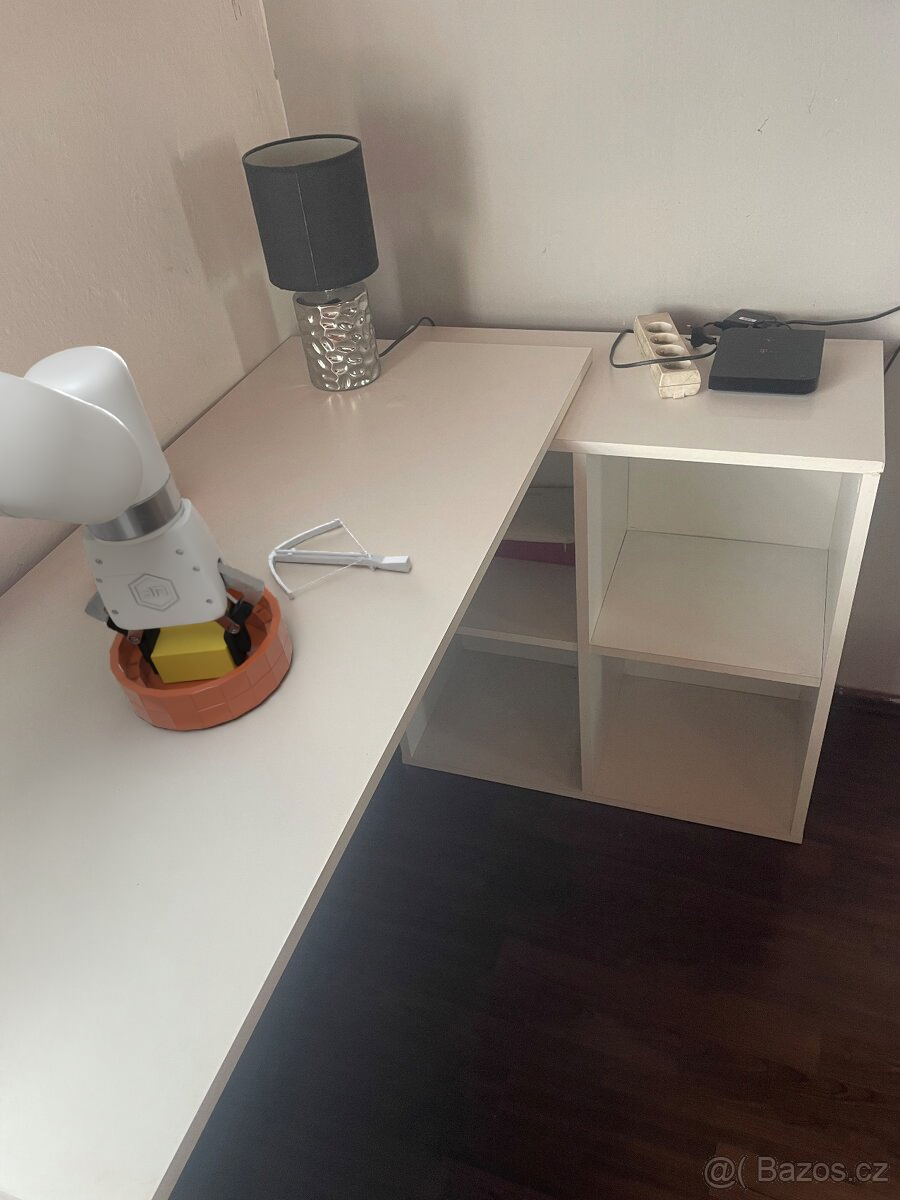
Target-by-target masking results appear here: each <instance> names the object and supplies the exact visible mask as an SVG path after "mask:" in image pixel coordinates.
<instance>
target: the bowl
mask: <svg viewBox="0 0 900 1200" xmlns="http://www.w3.org/2000/svg"><path fill="white" fill-rule="evenodd" d="M226 592H228V593H229V594H230V595H231V596H232V597H233V598H235V599H236V600H237V601H238V600H239V599H240V598H241V597H242V595H243V594H242V593H241V592H238V591H236V590H234V589H231V588H230V589H228V590H226ZM226 612H227V613H229V612H228V611H227V610H226ZM211 622H212V621H211ZM244 623H245V625H246V628H247V631H248V633H249V636H250V638H251V650H250V652H247V653H246V657H245V661H244V663H243V664H242V665H241V666H239V667H238V668H236V669H234V670H232V671H231V672H229V673H227V674H225V675H223V676H222V677H220V678H211V679H201V680H192V681H182V682H172V683H164V682H163V680H162V678H161V676H160V674H159V675H155V673H154V672H153V670H152V668H151V666H150V664H149V662H146V661H145V659H144V657H143V655H142V653H141V651H140V649H139V647H138V645H137V644H132V643H130V642H129V641H128V639H127V636H125V635H123V634H121V633H119V632H116V634H115V637H114V639H113V641H112V644H111V646H110V649H109V669H110V671H111V672H112V674H113V676H114V678H115V680H116V681H117V684H118V685H119V687H120V688H121V691H122V693H123V694H124V696H125V697H126V699H127V701H128V703H129V705H130V706H131V708H132V710H134V711H133V712H134V713H135V715H136V716H137V717H139V718H141V719H142V720H144V721H145V722H147V723H149V724H151V725H153V726H154V727H157V728H163V729H168V730H173V731H191V730H201V729H208V728H210V727H214V726H217V725H220V724H223V723H225V722H229V721H232V720H234V719H237V718H238V717H240V716H242V715H244V714H246V713H247V712H248V711H251V709H254V708H255V707H257V706H258V705H260V704H261V703H262V702H263V701H264V700H265V699H266V698H267V697H269V696H270V695H271V694H272V693H273V692H274V691H275V690H276V688H278V686H279V685H280V683H281V682H282V680H283V678H284V677H285V676H286V673H287V672H288V670H289V669H290V666H291V660H292V655H293V650H294V645H293V642H292V638H291V635H290V632H289V629H288V626H287V623H286V620H285V617H284V615H283V612H282V609H281V606H280V603H279V600H278V598H277V597H276V596H275V595H274V594H273V593H272V592H271V590H269V589H268V588H267V587H266V586H265V588H264V592H263V595H262V597H261V599H260V600H259V602H258V603H257V605H256V606H255V607H254V609H253V611H252V613H251V615H250V616H249V617H248V618H247V620H246V621H245V622H244ZM160 629H161V628H160Z"/></svg>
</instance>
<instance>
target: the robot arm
mask: <svg viewBox="0 0 900 1200" xmlns="http://www.w3.org/2000/svg"><path fill="white" fill-rule="evenodd" d="M0 517H5V518H13V519H14V518H15V519H30V520H39V521H49V522H58V523H59V522H60V523H66V524H75V525H83V526H84V527H83V529H82V531H81V538H82V544H83V547H84V552H85V555H86V560H87V563H88V566H89V569H90V573H91V576H92V578H93V581H94V583H95V587H96V589H97V590H96V591H95V592H94V593H93V595H92V596H91V597H90V598H89V600H88V601H87V604H86V606H85V608H84V613H85V614H86V615H88V616H89V617H91V618H94V619H95V620H97V621H98V622H101V623H105V624H106V627H107V628H108V629H110V630H112V631H115V632H116V633H117V632H119V633H121V634H123V635H125V636H127V639H128V641H129V642H130V643H132V644H137V645H138V647H139V649H140V651H141V653H142V655H143V657H144V659H145V661H146V662H149V664H150V666H151V668H152V670H153V672H154V673H155V675H159V672H158V671H157V669H156V667H155V665H154V663H153V661H152V659H151V654H152V653H153V650H154V648H155V645H156V642H157V639H158V636H159V634H160V631H161V630H160V628H161V627H170V626H179V625H188V624H197V623H205V622H211V621H215V622H217V623H218V624H219V625H220V626H222V627H223V628H224V629H225V631H224V635H223V638H224V641H225V643H226V645H227V647H228V649H229V651H230V654H231V656H232V658H233V661H234V663H235V665H237V666H241V665H242V664H243V663H244V661H245V657H246V653H247V652H250V650H251V638H250V636H249V633H248V631H247V628H246V625H245V623H244V622H245V621H246V620H247V618H248V617H249V616H250V615H251V613H252V611H253V609H254V607H255V606H256V605H257V603H258V602H259V600H260V599H261V597H262V595H263V592H264V588H265V587H266V583H265V582H264V581H263V580H261V579H259V578H257V577H256V576H255V577H254V576H253V575H250V574H248V573H245V572H243V571H241V570H238V569H237V568H235V567H232V566H230V565H228V564H227V562H226V559H225V557H224V555H223V553H222V551H221V548H220V547H219V545H218V542H217V541H216V539H215V537H214V535H213V533H212V532H211V530H210V528H209V527H208V525H207V523H206V522H205V520H204V519H203V517H202V515H201V514H200V512H199V511H198V509H196V507H195V506H194V505H193V503H192V501H190V499H188V498H182V496H181V494H180V491H179V488H178V486H177V484H176V481H175V478H174V476H173V474H172V471H171V469H170V467H169V464H168V462H167V459H166V457H165V454H164V452H163V450H162V448H161V445H160V442H159V440H158V438H157V435H156V433H155V431H154V428H153V425H152V423H151V420H150V418H149V415H148V412H147V411H146V408H145V406H144V403H143V400H142V398H141V396H140V393H139V391H138V389H137V386H136V384H135V381H134V379H133V376H132V374H131V372H130V370H129V367H128V366H127V363H126V362H125V360H124V359H123V358H122V356H120V354H118V353H117V352H116V351H114V350H112V349H110V348H107V347H103V346H101V345H85V346H76V347H71V348H67V349H64V350H60V351H58V352H55V353H52V354H50V355H48V356H46V357H44V358H42V359H41V360H39V361H38V362H36V363H34V364H33V365H32V366H31V367H30V368H29V369H28V370H27V372H26V373H25V374H24V376H23V377H21V376H18V375H14V374H10V373H7V372H4V371H0ZM230 588H231V589H234V590H236V591H238V592H241V593H242V594H243V595H242V597H241V598H240V599H239V600H238V601H237V600H236V599H235V598H233V597H232V596H231V595H230V594H229V593H228V592H226V590H228V589H230ZM226 610H227V611H228V612H229V613H227V612H226Z"/></svg>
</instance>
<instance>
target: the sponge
mask: <svg viewBox="0 0 900 1200" xmlns="http://www.w3.org/2000/svg"><path fill="white" fill-rule="evenodd" d="M160 630H161V631H160V634H159V636H158V639H157V642H156V645H155V648H154V650H153V653H152V654H151V659H152V661H153V663H154V665H155V667H156V669H157V671H158V672H159V674H160V676H161V678H162V680H163V682H164V683H172V682H182V681H192V680H201V679H211V678H220V677H222V676H223V675H225V674H227V673H229V672H231V671H232V670H234V669H236V668H238V667H239V666H237V665H235V663H234V661H233V658H232V656H231V654H230V651H229V649H228V647H227V645H226V643H225V641H224V638H223V635H224V631H225V629H224V628H223V627H222V626H220V625H219V624H218V623H217V622H215V621H212V622H205V623H197V624H188V625H179V626H170V627H161V629H160Z"/></svg>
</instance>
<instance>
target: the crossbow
mask: <svg viewBox="0 0 900 1200" xmlns="http://www.w3.org/2000/svg"><path fill="white" fill-rule="evenodd" d="M340 526H343V527H344V528H345V530H346V531H347V532H348V533H349V535H350V536H351V537H352V539H354V541H355V542H356V543H357V544H358V545H359V546H360V548H361V549H362V550H363V551H364V552H362V551H361V552H357V551H348V552H347V551H322V550H321V551H320V550H316V551H315V550H300V549H299V550H297V548H295V547H294V546H296V545H298V544H300V543H301V542H304V541H306V540H308V539H310V538H313V537H315V536H317V535H319V534H321V533H324V532H327V531H329V530H332V529H335V528H338V527H340ZM276 562H280V563H281V562H285V563H307V564H326V565H327V564H329V565H346V566H344V567H342V568H340V569H337V570H335V571H333V572H331V573H329V574H326V575H324V576H322V577H319V578H318V579H316V580H313V581H311V582H309V583H307V584H304V585H302V586H299V587H297V588H296V589H294V590H291V589H289V588H288V587H287V586H286V585H285V584H284V583H283V581H282V580H281V578H280V576H279V575H278V574H277V573H276V566H275V565H276ZM268 566H269V568H270V571H271V573H272V576H273V578H274V580H275V582H276V583H277V584H278V586H279V587H280V588H281V590H282V591H283V592H284V593H285V594H286V595H287V596H288V598H289V599H290V600H294V599H295V598H294V595H293V593H294V592H297V591H298V590H301V589H302V588H305V587H307V586H309V585H312V584H313V583H316V582H318V581H320V580H322V579H324V578H327V577H329V576H331V575H333V574H335V573H338V572H340V571H343V570H344V569H347V568H348V567H351V566H367V567H368V568H370V570H371V572H373V573H374V572H375V571H376V569H377V568H379V569H381V570H387V571H396V572H404V573H409V572H410V569H411V568H412V561H411V558H410V555H395V556H385V555H380V554H378V553H372V552H367V551H366V550H365V548H364V547H363V546H362V545H361V544H360V543H359V541H358V540H357V539H356V538H355V536H354V535H353V534H352V533H351V532H350V531H349V529H348V528H347V527H346V526H345V524H344V523H343V522H342V520H341V518H335V519H333V520H332V521H329V522H326V523H324V524H321V525H318V526H316V527H313V528H311V529H309V530H307V531H304V532H301V533H299V534H297V535H295V536H293V537H291V538H289V539H287V540H285V541H284V542H282V543H281V544H279V545H277V546H275V547H274V548H273V550H272V551H271V553H270V554H269V555H268Z"/></svg>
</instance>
